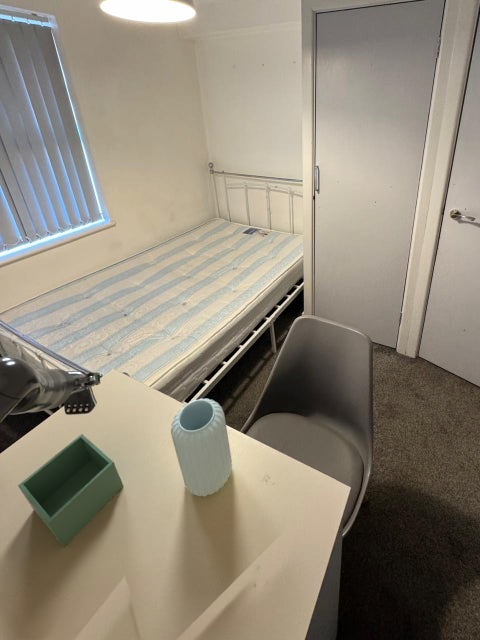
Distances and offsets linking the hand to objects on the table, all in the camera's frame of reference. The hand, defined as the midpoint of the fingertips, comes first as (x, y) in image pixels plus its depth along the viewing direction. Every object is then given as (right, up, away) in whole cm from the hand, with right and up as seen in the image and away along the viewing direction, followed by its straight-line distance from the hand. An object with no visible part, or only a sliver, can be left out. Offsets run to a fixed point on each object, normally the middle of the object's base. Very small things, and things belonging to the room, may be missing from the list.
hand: (73, 386), depth 77 cm
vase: (+32, -23, +3) cm, 40 cm away
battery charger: (+1, -7, +2) cm, 7 cm away
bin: (+2, -25, -2) cm, 26 cm away
